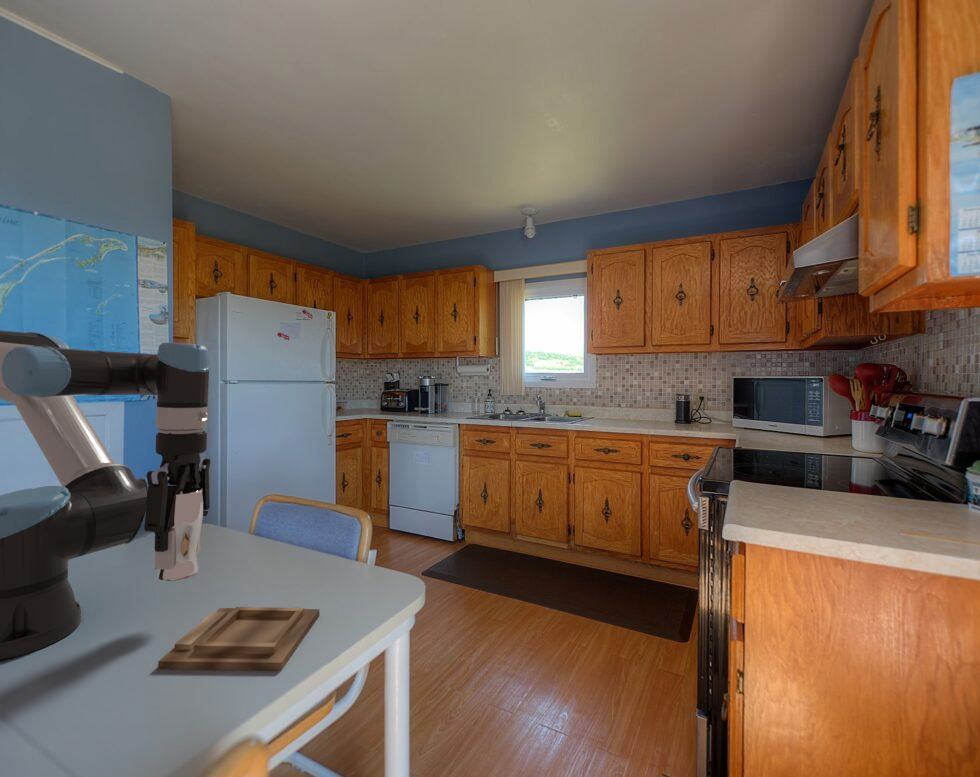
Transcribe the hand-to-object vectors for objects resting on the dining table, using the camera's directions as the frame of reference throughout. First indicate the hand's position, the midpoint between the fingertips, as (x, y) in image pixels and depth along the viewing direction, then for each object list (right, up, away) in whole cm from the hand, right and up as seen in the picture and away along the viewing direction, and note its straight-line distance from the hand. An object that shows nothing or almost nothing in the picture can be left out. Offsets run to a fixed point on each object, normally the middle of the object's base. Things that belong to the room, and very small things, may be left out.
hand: (178, 559), depth 81 cm
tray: (+15, -11, -6) cm, 20 cm away
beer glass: (0, -3, 0) cm, 3 cm away
